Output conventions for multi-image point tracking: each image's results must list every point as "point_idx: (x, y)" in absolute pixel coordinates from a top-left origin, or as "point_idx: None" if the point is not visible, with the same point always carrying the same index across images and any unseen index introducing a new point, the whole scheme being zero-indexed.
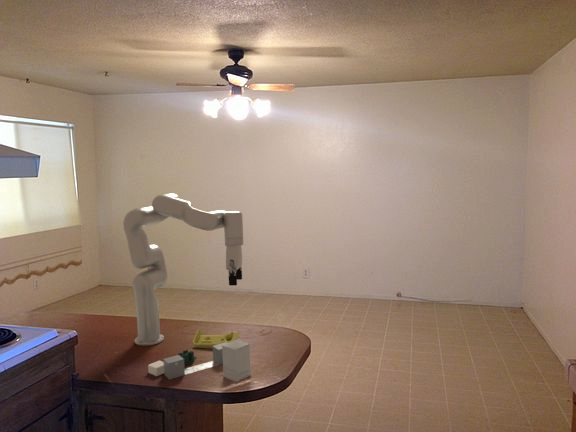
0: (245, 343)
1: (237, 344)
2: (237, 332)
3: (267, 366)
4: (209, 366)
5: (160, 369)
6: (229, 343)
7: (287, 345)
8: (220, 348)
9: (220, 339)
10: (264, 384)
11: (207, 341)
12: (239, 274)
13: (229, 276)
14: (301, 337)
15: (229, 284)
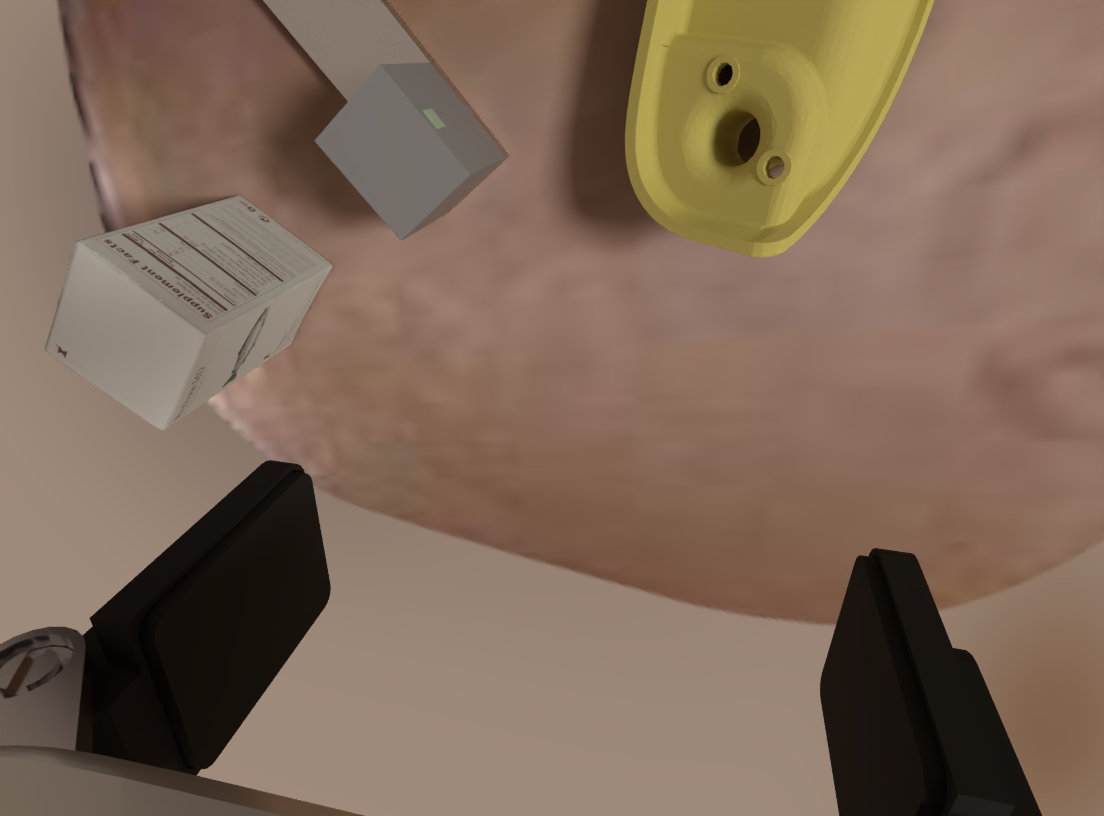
0: (156, 406)
1: (120, 355)
2: (773, 223)
3: (426, 419)
4: (334, 61)
5: None
6: (119, 294)
7: (735, 527)
8: (342, 152)
9: (738, 47)
10: (237, 410)
11: None
12: (854, 772)
13: (121, 620)
14: None
15: (263, 475)
